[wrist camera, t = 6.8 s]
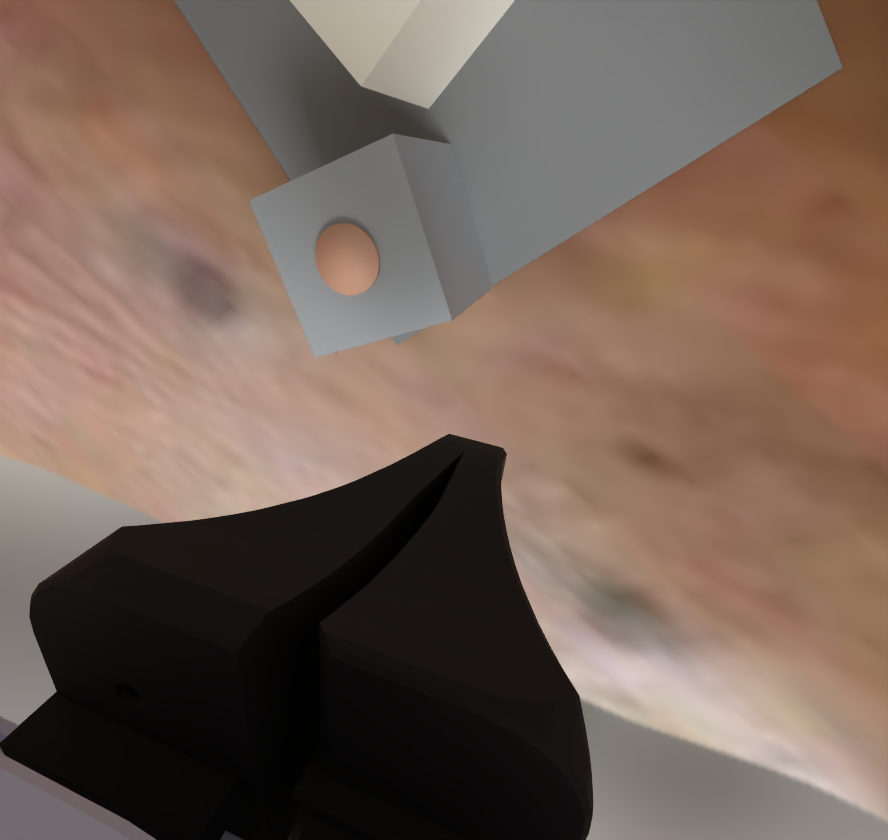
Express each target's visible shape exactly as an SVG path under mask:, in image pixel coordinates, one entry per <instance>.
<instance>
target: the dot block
mask: <svg viewBox="0 0 888 840" xmlns="http://www.w3.org/2000/svg"><path fill="white" fill-rule="evenodd" d="M249 202H250V204H251V207H252V209H253V211H254V214H255V216H256V219H257V221H258V223H259V226H260V228H261V231H262V233H263V235H264V238H265V240H266V243H267V245H268V247H269V250H270V252H271V254H272V257H273V259H274V262H275V264H276V266H277V269H278V271H279V274H280V276H281V278H282V281H283V283H284V285H285V288H286V290H287V293H288V295H289V297H290V300H291V302H292V305H293V307H294V309H295V312H296V314H297V317H298V319H299V321H300V324H301V326H302V328H303V331H304V333H305V336H306V338H307V340H308V343H309V345H310V348H311V350H312V352H313V355H314V357H315V358H316V357H320V356H323V355H327V354H331V353H334V352H338V351H342V350H346V349H349V348H353V347H357V346H360V345H364V344H368V343H371V342H375V341H379V340H382V339H386V338H390V337H393V336H397V335H401V334H404V333H408V332H412V331H415V330H419V329H423V328H426V327H430V326H434V325H437V324H441V323H445V322H448V321H452V320H453V319H455V318H456V317H457V316H458V315H460V314H461V313H462V312H463V311H465V310H466V309H467V308H468V307H469V306H471V305H472V304H473V303H474V302H476V301H477V300H478V299H479V298H481V297H482V296H483V295H484V294H486V293H487V292H488V291H489V290H490V289H492V288H493V287H492V284H491V280H490V277H489V273H488V270H487V266H486V263H485V259H484V256H483V252H482V249H481V245H480V242H479V238H478V235H477V231H476V228H475V224H474V221H473V217H472V214H471V210H470V207H469V203H468V200H467V196H466V193H465V189H464V186H463V182H462V179H461V175H460V172H459V168H458V165H457V161H456V158H455V154H454V151H453V147H452V144H447V143H442V142H436V141H431V140H425V139H420V138H414V137H409V136H403V135H398V134H391V135H389V136H387V137H384V138H382V139H380V140H378V141H376V142H374V143H372V144H369V145H367V146H365V147H363V148H361V149H359V150H356V151H354V152H352V153H350V154H348V155H346V156H344V157H341V158H339V159H337V160H335V161H333V162H331V163H329V164H326V165H324V166H322V167H320V168H318V169H316V170H313V171H311V172H309V173H307V174H305V175H303V176H301V177H298V178H296V179H294V180H292V181H290V182H288V183H286V184H283V185H281V186H279V187H277V188H275V189H273V190H270V191H268V192H266V193H264V194H262V195H260V196H258V197H255V198H253V199H251V200H249Z"/></svg>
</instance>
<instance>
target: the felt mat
mask: <svg viewBox="0 0 888 840" xmlns="http://www.w3.org/2000/svg"><path fill="white" fill-rule="evenodd" d="M174 1H175V3H176V4H177V6H178V7H179V9H180V10H181V12H182V14H183V15H184V17H185V18H186V20H187V21H188V23H189V24H190V26H191V27H192V29H193V31H194V32H195V34H196V35H197V37H198V38H199V40H200V41H201V43H202V44H203V46H204V48H205V49H206V51H207V52H208V54H209V55H210V57H211V58H212V60H213V62H214V63H215V65H216V66H217V68H218V69H219V71H220V72H221V74H222V75H223V77H224V79H225V80H226V82H227V83H228V85H229V86H230V88H231V89H232V91H233V92H234V94H235V96H236V97H237V99H238V100H239V102H240V103H241V105H242V106H243V108H244V109H245V111H246V113H247V114H248V116H249V117H250V119H251V120H252V122H253V123H254V125H255V127H256V128H257V130H258V131H259V133H260V134H261V136H262V137H263V139H264V140H265V142H266V144H267V145H268V147H269V148H270V150H271V151H272V153H273V154H274V156H275V157H276V159H277V161H278V162H279V164H280V165H281V167H282V168H283V170H284V171H285V173H286V175H287V176H288V178H289V179H290V181H292V180H294V179H296V178H298V177H301V176H303V175H305V174H307V173H309V172H311V171H313V170H316V169H318V168H320V167H322V166H324V165H326V164H329V163H331V162H333V161H335V160H337V159H339V158H341V157H344V156H346V155H348V154H350V153H352V152H354V151H356V150H359V149H361V148H363V147H365V146H367V145H369V144H372V143H374V142H376V141H378V140H380V139H382V138H384V137H387V136H389V135H391V134H398V135H403V136H409V137H414V138H420V139H425V140H431V141H436V142H442V143H447V144H452V147H453V151H454V154H455V158H456V161H457V165H458V168H459V172H460V175H461V179H462V182H463V186H464V189H465V193H466V196H467V200H468V203H469V207H470V210H471V214H472V217H473V221H474V224H475V228H476V231H477V235H478V238H479V242H480V245H481V249H482V252H483V256H484V259H485V263H486V266H487V270H488V273H489V277H490V280H491V284H492V286H493V285H495V284H496V283H498V282H499V281H501V280H503V279H504V278H506V277H507V276H509V275H511V274H512V273H514V272H516V271H517V270H519V269H520V268H522V267H524V266H525V265H527V264H528V263H530V262H532V261H533V260H535V259H536V258H538V257H540V256H541V255H543V254H544V253H546V252H548V251H549V250H551V249H552V248H554V247H556V246H557V245H559V244H560V243H562V242H564V241H565V240H567V239H568V238H570V237H572V236H573V235H575V234H577V233H578V232H580V231H581V230H583V229H585V228H586V227H588V226H589V225H591V224H593V223H594V222H596V221H597V220H599V219H601V218H602V217H604V216H605V215H607V214H609V213H610V212H612V211H613V210H615V209H617V208H618V207H620V206H621V205H623V204H625V203H626V202H628V201H629V200H631V199H633V198H634V197H636V196H638V195H639V194H641V193H642V192H644V191H646V190H647V189H649V188H650V187H652V186H654V185H655V184H657V183H658V182H660V181H662V180H663V179H665V178H666V177H668V176H670V175H671V174H673V173H674V172H676V171H678V170H679V169H681V168H682V167H684V166H686V165H687V164H689V163H690V162H692V161H694V160H695V159H697V158H699V157H700V156H702V155H703V154H705V153H707V152H708V151H710V150H711V149H713V148H715V147H716V146H718V145H719V144H721V143H723V142H724V141H726V140H727V139H729V138H731V137H732V136H734V135H735V134H737V133H739V132H740V131H742V130H743V129H745V128H747V127H748V126H750V125H751V124H753V123H755V122H756V121H758V120H760V119H761V118H763V117H764V116H766V115H768V114H769V113H771V112H772V111H774V110H776V109H777V108H779V107H780V106H782V105H784V104H785V103H787V102H788V101H790V100H792V99H793V98H795V97H796V96H798V95H800V94H801V93H803V92H804V91H806V90H808V89H809V88H811V87H812V86H814V85H816V84H817V83H819V82H821V81H822V80H824V79H825V78H827V77H829V76H830V75H832V74H833V73H835V72H837V71H838V70H840V69H841V68H843V67H842V64H841V61H840V59H839V56H838V54H837V51H836V48H835V46H834V43H833V41H832V38H831V36H830V33H829V30H828V28H827V25H826V23H825V20H824V17H823V15H822V12H821V10H820V7H819V5H818V2H817V0H515V1H514V2H513V3H512V4H511V6H510V7H509V8H508V10H507V11H506V12H505V13H504V15H503V16H502V17H501V18H500V20H499V21H498V22H497V23H496V25H495V26H494V27H493V28H492V30H491V31H490V32H489V33H488V35H487V36H486V37H485V39H484V40H483V41H482V42H481V44H480V45H479V46H478V47H477V49H476V50H475V51H474V52H473V54H472V55H471V56H470V57H469V59H468V60H467V61H466V62H465V64H464V65H463V66H462V68H461V69H460V70H459V71H458V73H457V74H456V75H455V76H454V78H453V79H452V80H451V81H450V83H449V84H448V85H447V86H446V88H445V89H444V90H443V91H442V93H441V94H440V95H439V96H438V98H437V99H436V100H435V102H434V103H433V104H432V105H431V107H430V108H429V109H427V108H424V107H421V106H418V105H415V104H412V103H409V102H406V101H403V100H400V99H397V98H394V97H391V96H388V95H385V94H382V93H379V92H376V91H374V90H371V89H368V88H365V87H362V86H360V85H359V83H358V82H357V81H356V80H355V79H354V77H353V76H352V75H351V74H350V72H349V71H348V70H347V69H346V68H345V66H344V65H343V64H342V63H341V62H340V60H339V59H338V58H337V57H336V56H335V54H334V53H333V52H332V51H331V50H330V48H329V47H328V46H327V45H326V44H325V42H324V41H323V40H322V39H321V38H320V36H319V35H318V34H317V33H316V32H315V30H314V29H313V28H312V27H311V25H310V24H309V23H308V22H307V21H306V19H305V18H304V17H303V16H302V15H301V13H300V12H299V11H298V10H297V9H296V7H295V6H294V5H293V4H292V3H291V1H290V0H174ZM423 329H424V328H423ZM421 330H422V329H419V330H415V331H412V332H408V333H404V334H401V335H397V336H393V337H392V339H393V340H394V342H395V343H396V345H398V344H400V343H402V342H403V341H405V340H406V339H408V338H410V337H411V336H413V335H414V334H416V333H418V332H419V331H421Z"/></svg>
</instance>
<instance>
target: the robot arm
mask: <svg viewBox="0 0 888 840" xmlns="http://www.w3.org/2000/svg"><path fill="white" fill-rule="evenodd" d="M506 455H507V454H506V452H505V451H504V449H503V448H501V447H498V446H494V445H490V444H486V443H482V442H478V441H474V440H471V439H467V438H463V437H459V436H455V435H451V434H448V435H446V436H444V437H442V438H440V439H438V440H437V441H435V442H433V443H431V444H429V445H428V446H426V447H424V448H422V449H420V450H418V451H417V452H415V453H413V454H411V455H409V456H407V457H405V458H403V459H401V460H399V461H397V462H396V463H394V464H392V465H389V466H387V467H385V468H383V469H381V470H378V471H376V472H374V473H372V474H369V475H367V476H365V477H363V478H361V479H358V480H356V481H354V482H351V483H349V484H346V485H343V486H341V487H338V488H335V489H332V490H329V491H326V492H323V493H320V494H317V495H314V496H311V497H307V498H304V499H300V500H296V501H292V502H288V503H284V504H280V505H276V506H272V507H268V508H264V509H260V510H255V511H249V512H244V513H239V514H233V515H227V516H221V517H214V518H208V519H200V520H193V521H183V522H172V523H162V524H151V525H140V526H125V527H121V528H119V529H118V530H116V531H115V532H113V533H112V534H111V535H109V536H108V537H106V538H105V539H103V540H102V541H100V542H99V543H97V544H96V545H94V546H93V547H92V548H90V549H89V550H87V551H86V552H84V553H83V554H81V555H80V556H79V557H77V558H76V559H74V560H73V561H71V562H70V563H68V564H67V565H66V566H64V567H63V568H61V569H60V570H58V571H57V572H55V573H54V574H53V575H51V576H50V577H48V578H47V579H46V580H44V581H42V582H41V583H39V584H38V586H37V588H36V589H35V591H34V592H33V594H32V596H31V603H30V620H31V624H32V628H33V632H34V635H35V637H36V639H37V642H38V645H39V647H40V650H41V652H42V655H43V657H44V660H45V663H46V665H47V668H48V670H49V673H50V675H51V678H52V680H53V683H54V685H55V688H56V690H57V692H56V693H55V694H54V695H53V696H51V698H49V699H48V700H47V701H46V702H45V703H44V704H42V705H41V706H40V707H39V708H38V709H37V710H36V711H35V712H34V713H32V714H31V715H30V716H29V717H28V718H27V719H26V720H25V721H24V722H22V724H20V725H17V724H15V723H13V722H11V721H9V720H7V719H5V718H3V717H1V716H0V840H586V837H587V836H588V834H589V830H590V825H591V821H592V815H593V787H592V772H591V762H590V753H589V747H588V741H587V734H586V728H585V723H584V718H583V713H582V708H581V702H580V697H579V694H578V693H577V691H576V690H575V688H574V686H573V685H572V683H571V682H570V680H569V678H568V677H567V675H566V673H565V672H564V670H563V668H562V667H561V665H560V663H559V661H558V660H557V658H556V656H555V654H554V653H553V651H552V649H551V647H550V645H549V643H548V641H547V639H546V637H545V635H544V633H543V631H542V629H541V627H540V626H539V624H538V621H537V619H536V617H535V614H534V612H533V610H532V607H531V605H530V603H529V600H528V598H527V596H526V593H525V591H524V589H523V586H522V584H521V581H520V578H519V575H518V572H517V569H516V566H515V563H514V559H513V556H512V552H511V549H510V545H509V540H508V536H507V531H506V526H505V520H504V514H503V506H502V494H501V480H502V475H503V470H504V465H505V460H506Z"/></svg>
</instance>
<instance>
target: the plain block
mask: <svg viewBox="0 0 888 840" xmlns="http://www.w3.org/2000/svg"><path fill="white" fill-rule="evenodd" d="M290 1H291V3H292V4H293V5H294V6H295V7H296V9H297V10H298V11H299V12H300V13H301V15H302V16H303V17H304V18H305V19H306V21H307V22H308V23H309V24H310V25H311V27H312V28H313V29H314V30H315V32H316V33H317V34H318V35H319V36H320V38H321V39H322V40H323V41H324V42H325V44H326V45H327V46H328V47H329V48H330V50H331V51H332V52H333V53H334V54H335V56H336V57H337V58H338V59H339V60H340V62H341V63H342V64H343V65H344V66H345V68H346V69H347V70H348V71H349V72H350V74H351V75H352V76H353V77H354V79H355V80H356V81H357V82H358V83H359V85H360V86H362V87H365V88H368V89H371V90H374V91H376V92H379V93H382V94H385V95H388V96H391V97H394V98H397V99H400V100H403V101H406V102H409V103H412V104H415V105H418V106H421V107H424V108H427V109H429V108H430V107H431V105H432V104H433V103H434V102H435V100H436V99H437V98H438V96H439V95H440V94H441V93H442V91H443V90H444V89H445V88H446V86H447V85H448V84H449V83H450V81H451V80H452V79H453V78H454V76H455V75H456V74H457V73H458V71H459V70H460V69H461V68H462V66H463V65H464V64H465V62H466V61H467V60H468V59H469V57H470V56H471V55H472V54H473V52H474V51H475V50H476V49H477V47H478V46H479V45H480V44H481V42H482V41H483V40H484V39H485V37H486V36H487V35H488V33H489V32H490V31H491V30H492V28H493V27H494V26H495V25H496V23H497V22H498V21H499V20H500V18H501V17H502V16H503V15H504V13H505V12H506V11H507V10H508V8H509V7H510V6H511V4H512V3H513V2H514V1H515V0H290Z"/></svg>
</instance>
